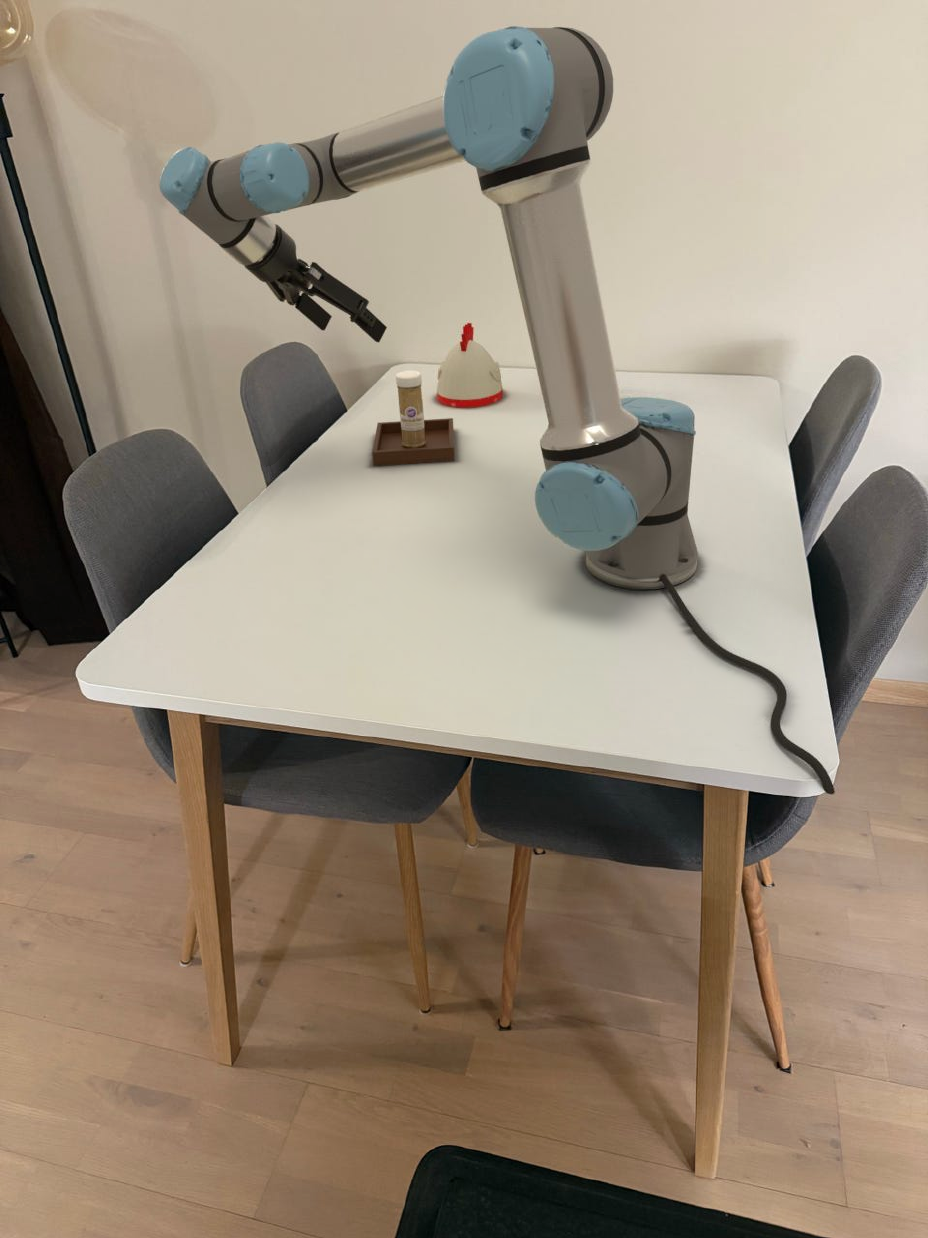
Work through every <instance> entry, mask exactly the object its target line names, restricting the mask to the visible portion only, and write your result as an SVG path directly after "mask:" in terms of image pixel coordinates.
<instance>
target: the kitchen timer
mask: <svg viewBox="0 0 928 1238" xmlns="http://www.w3.org/2000/svg"><path fill="white" fill-rule="evenodd" d="M474 328H475V327H474V326H473V324H472V322H466V324H464V325H463V326H462V333H461V334H460V336H461V341H459V342H458V343H457V344H455V345H454V346H453V347H452V348H451V349H450V351H449V352H448V353H447V354H446V356H445V358H444V360H442V361H441V363H440V367H438V371H437V380H438V381H437V386H436V396H437V401H438V403H440V404H442V405H444V406H447V407H452V408H465V409H467V408H468V409H469V408H478V407H485V406H488V405H491V404H495V403H496V402H497V403H498V402H499V401H500V400H501V399H502V398H503V382H502V374H501V370H500V364H499V361H494V359H493V357H492V356H491V354H490V353H489V351H488V350H487V349H486V348H485V347H484V346H483V345H481V344H480V343H479V342H477V341H474V330H475V329H474Z"/></svg>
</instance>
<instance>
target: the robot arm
mask: <svg viewBox="0 0 928 1238" xmlns="http://www.w3.org/2000/svg"><path fill="white" fill-rule="evenodd" d="M613 98H614V76H613V70H612V67H611V64H610V62H609V59H608V56H607V54H606V52H605V51H604V49H603V48H602V47H601V46H600V44H599V43H598V42H597V41H596V40H595V39H594V38H592V37H591V36H590V35H589V34H587V33H586V32H584V31H581V30H579V29H576V28H573V27H565V26H564V27H562V26H555V27H524V26H516V25H512V26H508V27H504V28H499V29H497V30H492V31H488V32H485V33H483V34H481V35H477V37H475V38H473V39H472V40H471V41H469V42H468V43H467V44H466V45H465V46H464V47H463V48H462V50H460V52H459V53H458V55H457V56H456V58H455V59H454V61H453V64H452V66H451V69H450V72H449V74H447V77H446V79H445V83H444V88H443V94H442V95H440V96H437V97H434V98H432V99H429V100H426V101H424V102H421V103H418V104H415V105H412V106H409V107H406V108H403V109H401V110H398V111H395V112H392V113H389V114H387V115H384V116H381V117H378V118H375V119H372V120H369V121H366V122H364V123H361V124H358V125H355V126H353V127H349V128H347V129H343V130H341V131H338V132H335V133H332V134H329V135H326V136H324V137H320V138H316V139H313V140H308V141H304V142H303V141H302V142H296V143H294V142H293V143H289V144H287V143H285V142H280V141H277V142H272V143H266V144H259V145H256V146H253V148H251V149H248V150H245V151H243V152H241V153H237V154H235V155H232V156H229V157H225V158H221V159H217V160H214V161H212V160H210V159H209V158H208V156H207V155H206V154H205V153H202V152H201V151H199V150H198V148H195V147H192V146H186V147H183V148H181V149H179V150H177V151H176V152H175V153H174V154H173V155H172V156H171V157H169V159H168V161H167V162H166V164H165V165H164V167H163V169H162V172H161V174H160V177H159V184H158V185H159V190H160V193H161V195H162V196H163V198H164V199H165V200H166V201H168V202H169V203H170V204H171V205H172V206H173V207H174V209H176V210H177V211H178V213H179V214H180V215H182V216H183V217H185V219H187V220H188V221H190V223H192V224H193V225H194V226H195V227H196V228H198V229H199V230H200V231H201V232H203V234H205V235H206V236H207V237H209V238H210V239H211V240H212V241H213V242H214V243H216V244H217V245H218V246H219V247H220V248H221V249H223V251H224V252H225V253H226V254H228V255H229V256H230V257H232V259H234V260H235V261H236V262H237V263H238V264H240V265H242V266H244V268H245V269H246V270H248V272H249V273H251V274H252V275H253V276H254V277H256V278H257V279H258V280H259V281H261V282H262V283H265V284H266V285H267V286H268V288H269V289H270V291H271V292H272V294H274V296H275V297H276V299H277V300H278V301H279V302H281V303H284V302H285V301H286V303H287V304H288V305H289V306H294V308H295V309H296V310H297V311H298V312H299V313H301V314H302V316H304V317H305V318H307V319H308V320H309V321H310V322H311V323H313V325H315V326H316V327H317V328H319V330H320V331H323V332H325V330H326V328H327V326H328V325H329V323H330V321H331V319H332V318H333V316H332V315H331V314H330V313H329V312H328V311H326V310H325V309H324V308H323V307H322V306H321V305H320V304H318V302H317V301H316V300H314V299H313V297H315V296H316V297H318V298H319V299H321V300H322V301H324V302H326V303H328V304H330V305H332V306H333V307H335V308H336V309H338V310H340V311H342V312H344V313H346V315H348V316H349V320H350V322H351V323H354V324H355V325H357V326H358V327H359V329H361V330H362V331H363V332H364V333H365V334H366V335H368V336H369V337H370V338H371V339H372V340H373V341H374V342H376V343H380V341H381V339H383V336H384V334H385V332H386V331H387V328H388V326H387V325H385V324H384V323H383V322H382V321H381V320H380V319H379V318H378V317H377V316H376V315H375V314H374V313H372V311H371V310H370V309H368V308H367V307H368V306H369V303H370V300H368V298H365V297H364V296H363V295H361V294H359V293H358V292H356V291H355V290H354V289H352V288H350V287H349V286H347V285H346V284H345V283H343V282H342V281H340V280H339V279H338V278H336V277H334V276H333V275H332V274H330V273H329V272H327V271H326V270H325V269H324V268H322V267H321V265H319V263H317V262H315V261H311V263H310V264H308V262H306V261H304V260H303V259H301V258H298V256H297V245H296V242H295V240H294V238H293V237H292V236H290V235H289V234H288V233H287V232H286V231H285V230H284V229H283V228H282V227H281V226H280V225H279V224H276V223H275V221H274V220H273V219H272V218H271V217H269V215H272V214H273V215H274V214H280V213H282V212H286V211H290V210H294V209H297V208H302V207H306V206H310V205H315V204H320V203H326V202H330V201H337V200H342V199H347V198H350V197H351V196H353V195H355V194H357V193H360V192H363V191H367V190H369V189H373V188H377V187H380V186H383V185H387V184H391V183H395V182H397V181H400V180H404V179H408V178H411V177H414V176H418V175H421V174H425V173H428V172H432V171H435V170H439V169H442V168H446V167H449V166H453V165H457V164H459V163H463V162H466V163H467V164H468V165H469V164H470V165H471V166H472V167H475V169H476V173H477V177H478V181H479V187H480V191H481V194H482V196H484V197H486V198H487V200H490V201H492V202H493V203H494V204H496V205H497V207H498V208H499V209H500V213H501V217H502V223H503V226H504V231H505V236H506V239H507V244H508V249H509V255H510V258H511V262H512V266H513V271H514V274H515V280H516V284H517V290H518V294H519V298H520V302H521V307H522V310H523V315H524V320H525V324H526V328H527V333H528V337H529V338H528V339H529V341H530V342H529V343H530V346H531V351H532V355H533V359H534V365H535V369H536V372H537V378H538V382H539V387H540V391H541V395H542V400H543V404H544V408H545V412H546V413H545V414H546V418H547V421H548V424H547V425H548V426H547V428H546V430H545V431H544V433H543V435H542V436H541V438H540V439H539V446H540V451H541V455H542V460H543V464H544V468H545V471H543V473H542V475H541V476H540V478H539V480H538V483H537V485H536V487H535V490H534V491H535V492H534V503H535V508H536V512H537V514H538V517H539V518H540V520H541V522H542V524H543V526H544V527H545V528H546V530H547V531H549V533H551V535H552V536H554V537H555V538H559V539H560V540H561V541H562V542H563V543H564V545H567V546H568V547H571V548H574V549H576V550H580V551H585V566H586V568H587V570H588V571H589V572H590V574H591V575H592V576H594V577H595V578H597V579H598V580H600V581H602V582H603V583H607V584H608V585H612V586H616V587H619V588H625V589H631V590H658V589H659V590H660V589H666V590H667V592H668V594H669V595H670V596H671V598H672V600H673V601H674V603H675V605H676V606H677V608H678V610H679V611H680V613H681V614H682V616H683V617H684V618H685V620H686V621H687V623H688V624H689V625H690V627H691V628H692V629H693V631H694V633H695V634H696V635H697V636H698V637H699V639H700V640H701V641H702V642H703V643H704V644H705V645H707V647H708V648H710V649H711V651H713V652H714V653H716V654H717V655H718V656H720V657H722V658H723V659H725V660H727V661H729V662H730V663H733V664H735V665H738V666H739V667H743V668H745V669H746V670H747V669H748V670H750V671H752V672H754V673H756V674H758V675H760V676H763V677H764V678H765V679H766V680H767V681H768V682H770V683H771V684H772V685H773V687H774V688H775V689H776V692H777V699H776V702H775V704H774V708H773V710H772V712H771V716H770V729H771V732H772V735H773V736H774V738H775V740H776V741H777V743H778V744H779V745H780V746H781V747H783V749H785V750H786V751H788V752H789V753H791V754H792V755H794V756H796V757H797V758H799V759H800V760H802V761H803V762H805V763H806V765H808V766H809V767H810V768H811V769H812V770H813V771H814V772H815V774H816V776H817V777H818V779H819V781H820V783H821V785H822V788H823V791H824V792H825V793H826V794H828V795H834V794H835V792H836V791H835V788H834V784H833V781H832V779H831V776H830V775H829V773H828V771H827V769H826V768H825V767H824V766H823V764H822V763H821V761H819V759H818V758H816V757H815V756H814V755H813V754H811V752H809V751H807V750H806V749H804V748H802V747H800V746H799V745H797V744H796V743H794V742H793V741H791V740H790V739H789V738H787V736H786V735H785V734H784V732H783V730H782V728H781V717H782V715H783V712H784V709H785V706H786V702H787V698H788V697H787V689H786V686H785V685H784V683H783V681H782V680H781V679H780V678H779V677H778V676H777V675H776V674H775V673H774V672H773V671H771V670H770V669H768V668H766V667H764V666H763V665H760V664H758V663H756V662H755V661H752V660H749V659H746V658H745V657H741V656H739V655H737V654H735V653H733V652H731V651H729V650H727V649H726V648H724V647H722V646H721V645H720V644H718V643H717V642H716V641H715V640H714V639H713V638H711V637H710V636H709V634H707V632H706V631H705V630H704V629H703V628H702V626H701V625H700V624H699V622H698V621H697V620H696V618H695V616H693V614H692V613H691V612H690V610H689V609H688V606H686V604H685V602H684V600H683V599H682V597H681V596H680V594H679V592H678V591H677V589H675V587H674V586H676V585H679V584H681V583H683V582H686V581H687V580H688V579H690V578H691V577H692V576H693V575H694V574H695V573H696V571H697V567H698V558H699V553H698V547H697V543H696V540H695V536H694V533H693V530H692V526H691V522H690V519H689V513H688V512H689V498H690V489H691V478H692V477H691V475H692V467H693V466H692V465H693V453H694V442H695V436H696V433H697V432H696V430H695V419H696V418H695V413H694V411H693V409H692V408H691V407H690V406H689V405H687V404H684V403H683V402H679V401H677V400H672V399H666V398H660V397H659V398H658V397H645V396H630V397H621V394H620V389H619V383H618V379H617V373H616V368H615V362H614V358H613V357H614V356H613V353H612V352H613V351H612V347H611V342H610V337H609V331H608V325H607V320H606V316H605V310H604V305H603V299H602V294H601V289H600V284H599V278H598V273H597V268H596V262H595V256H594V252H593V247H592V241H591V236H590V231H589V225H588V221H587V215H586V210H585V205H584V199H583V194H582V189H581V188H582V187H581V184H582V180H583V178H584V176H585V174H586V172H587V171H588V169H589V167H590V166H591V164H592V161H591V156H590V150H589V144H588V141H590V140H591V139H592V138H593V137H594V136H595V135H596V134H597V132H599V131H600V129H601V128H602V126H603V124H604V123H605V121H606V119H607V117H608V115H609V113H610V110H611V107H612V102H613ZM310 286H311V287H310ZM300 294H301V295H300Z"/></svg>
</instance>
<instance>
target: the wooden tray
mask: <svg viewBox="0 0 928 1238" xmlns="http://www.w3.org/2000/svg"><path fill="white" fill-rule="evenodd" d="M424 426H425V427H424V429H425V440H426V444H425V445H424V446H422V447H419V448H407V447H404V446H403V445H402V442H403V439H402V429H401V420H399V421H384V422H383V421H382V422H377V424H376V429H375V435H374V441H373V446H372V452H371V454H372V463H373V466H374V467H378V466H393V465H394V466H395V465H411V464H412V465H413V464H426V463H442V462H455V429H454V428H455V427H454V418H453V417H449V418H448V417H447V418H434V419H433V418H432V419H424Z"/></svg>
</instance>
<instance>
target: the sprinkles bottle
mask: <svg viewBox="0 0 928 1238" xmlns="http://www.w3.org/2000/svg"><path fill="white" fill-rule="evenodd" d="M395 381H396V383H395V384H396V388H397V393H398V395H397V396H398V409H399V419H400V420H399V421H401V429H402V439H403V442H402V445H403V446H404V447H407V448H419V447H422V446H424V445H425V444H426V440H425V429H424V427H425V426H424V420H425V415H424V413H425V412H424V403H423V395H422V393H423V392H422V383H423V380H422V374H421V372H419V371H418V370H402V371H400V372H398V373H396V375H395Z"/></svg>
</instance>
